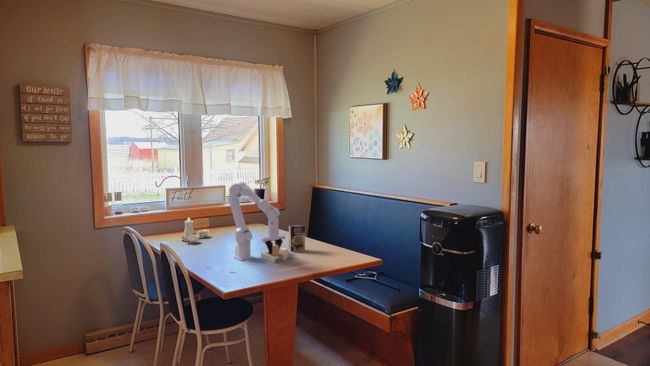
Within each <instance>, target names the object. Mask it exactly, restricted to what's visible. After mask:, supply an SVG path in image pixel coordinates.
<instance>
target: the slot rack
mask: <svg viewBox="0 0 650 366" xmlns="http://www.w3.org/2000/svg"><path fill="white" fill-rule="evenodd" d="M260 259H262V260H264V261H268V262H270V263H272V264H278V263H284V262H289V261H294V260H297V258H296V252H290V251H289V258H286V256H285V255H283V254H281V253H279V256H277V257H274V256H271V255H269V251H263V252H261V253H260Z"/></svg>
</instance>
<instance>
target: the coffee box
mask: <svg viewBox="0 0 650 366" xmlns="http://www.w3.org/2000/svg"><path fill="white" fill-rule="evenodd" d="M305 227H306V226H305V225H304V224H291V225H288V249H289V251H290V252H293V253H297V252H305V251H306V228H305Z"/></svg>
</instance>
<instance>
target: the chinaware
mask: <svg viewBox="0 0 650 366" xmlns="http://www.w3.org/2000/svg"><path fill="white" fill-rule="evenodd" d="M209 232H210V229H206V228H205V229H202V230H201V229H198V230H197V231H196V230H195V227H194V220H192V219H191V218H190V217H188V218H187V219H186V220H184V231H183V232H182V234H181V238H182V240H184V241H183V242H185V241H187V242H186V243H188V244H191V243H197V242H198V241H199V238H202V237H206V238H207V236H208V235H209ZM188 241H190V242H188Z"/></svg>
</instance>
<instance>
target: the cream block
mask: <svg viewBox="0 0 650 366" xmlns="http://www.w3.org/2000/svg"><path fill="white" fill-rule="evenodd" d="M279 253H281V254H283V255H285V256H286V258H289V248H287V247H282V248H281V247H280V250H279Z"/></svg>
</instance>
